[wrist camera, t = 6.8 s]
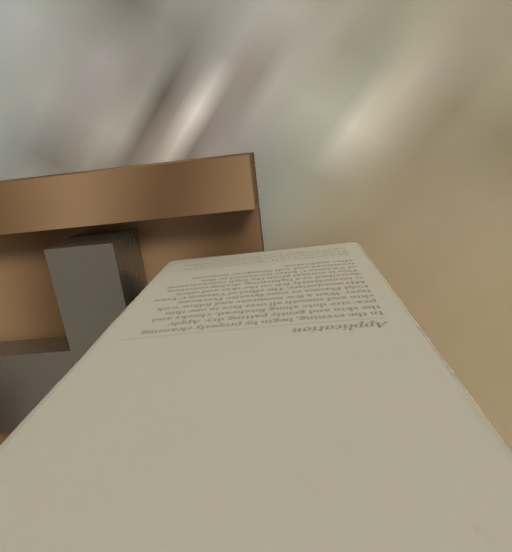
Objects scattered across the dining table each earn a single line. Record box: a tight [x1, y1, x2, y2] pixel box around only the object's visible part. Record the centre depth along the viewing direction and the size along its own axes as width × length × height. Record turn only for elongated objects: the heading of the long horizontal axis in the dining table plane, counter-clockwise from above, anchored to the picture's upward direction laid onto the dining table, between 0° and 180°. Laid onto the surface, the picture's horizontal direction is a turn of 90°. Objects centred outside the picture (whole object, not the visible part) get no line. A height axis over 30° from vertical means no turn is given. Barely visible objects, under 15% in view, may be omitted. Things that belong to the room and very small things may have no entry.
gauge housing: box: [0, 152, 264, 445], centre depth 13 cm, size 16×18×9 cm
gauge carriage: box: [0, 228, 148, 434], centre depth 15 cm, size 8×16×2 cm, turn 6°
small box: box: [0, 242, 512, 552], centre depth 9 cm, size 8×6×13 cm
